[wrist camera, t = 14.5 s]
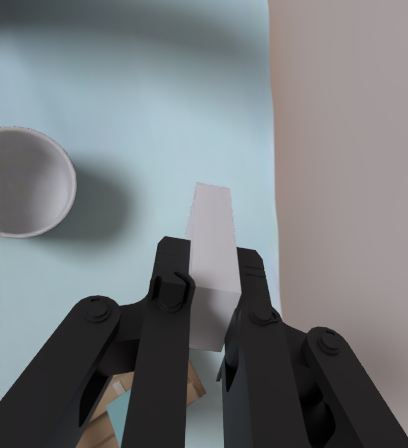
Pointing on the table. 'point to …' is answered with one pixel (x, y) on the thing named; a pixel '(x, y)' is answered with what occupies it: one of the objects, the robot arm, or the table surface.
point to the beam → (100, 422)
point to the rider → (119, 414)
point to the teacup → (33, 183)
